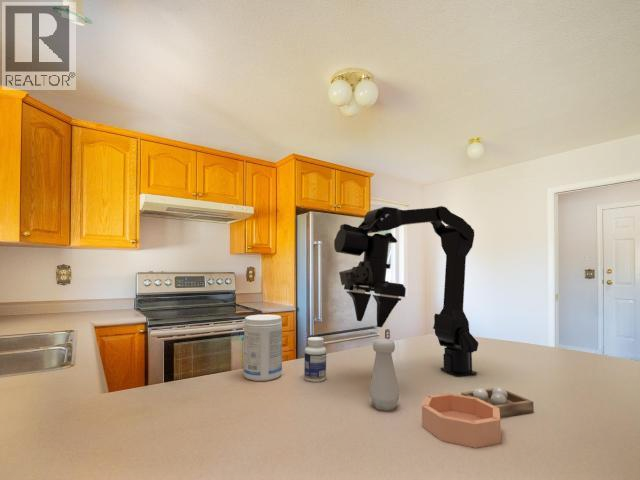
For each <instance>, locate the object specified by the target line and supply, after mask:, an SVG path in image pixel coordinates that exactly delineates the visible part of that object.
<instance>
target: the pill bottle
mask: <svg viewBox="0 0 640 480" xmlns="http://www.w3.org/2000/svg"><path fill="white" fill-rule="evenodd" d="M324 343H325V340H324V337H321V336H320V337H319V336H311V337H308V338H307V345H308V346H306V347H305V349H304V368H303V369H304V373H303V374H304V379H305V381H308V382H312V383H313V382H314V383H317V382H318V383H319V382H323V381H325V380H326V379H327V348H326V347H325V346H323V345H324Z"/></svg>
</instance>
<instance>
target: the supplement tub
mask: <svg viewBox="0 0 640 480" xmlns="http://www.w3.org/2000/svg"><path fill="white" fill-rule="evenodd" d="M243 324H244V325H243V326H244V328H243V332H244V333H243V336H244V337H243V376H244V377H245V379H247V380H249V381H255V382H256V381H257V382H266V381H272V380H275V379H278V378H279V377H280V376H281V375H282V373H283V322H282V316H281V315H278V314H254V315H253V314H252V315H248V316H246V317H244V323H243Z"/></svg>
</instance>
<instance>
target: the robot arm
mask: <svg viewBox="0 0 640 480" xmlns="http://www.w3.org/2000/svg"><path fill="white" fill-rule="evenodd" d="M425 223H430V224H431V225H432V229H433V230H434V232H435V233H436V235H437V236H438V237H440V243H441V245H440V246H441V247H442V250H443V251H444V254H445V271H444V288H443V289H444V290H443V305H442V308H441V309H442V310H441V311H440V312H439V313H434V316H433V317H434V324H433V327H432V329H433V330H434V335H435V336H436V337H437V340H438V343H439V346H441V347H444V353H443V354H442V355H443V366H442V367H440V370H441V371H443V372H446V373H449V374H451V375H453V376H455V377H463V376H464V377H465V376H471V375H477V374H478V373H477V371H475V370H473V357H472V356H473V355H472V354H473V353H474V352H478V349H479V348H478V347H479V342H478V341H477V340H476V339H475V337H474V336H473V335H472V333H470V322H469V320H468V317H467V315H466V314H465V312H464V301H465V300H464V299H465V298H464V297H465V281H466V280H465V279H466V260H467V259H466V258H467V256H468V254H469V253H470V252H471V250H472V248H473V245H474V240H475V230H474V228H472V225H470V224H469V223H468V222H467V221H466V220H465V219H464V218H462V217H460V216H458V215H457V214H455V213H454V212H451V211H450V210H449V209H448V207H446V206H443V205H440V206H435V207H427V208H425V207H424V208H416V209H414V208H413V209H405V210H404V209H401V208H400V209H399V208H397V207H391V206H382V207H379V208H375V209H373V210H372V209H371V210H369V211H367V212H366V214H365V215H364V219H363V221H362V222H361V223H360V224H359V225H358V226H352V225H350V224H348V223H343V224H341V225H340V226H339V230H338V232H337V233H336V236H335V238H334V245H333V246H334V250H335V251H334V252H336V253H339V254H344V255H351V256H356V257H360V256H362V255H363V258H362V259H363V260H362V261H359V262H358V265H357V266H353V267H352V268H349V269H346V270H342V271H339V273H338V274H339V279H340V283H341V286H344V287H343V289H344V290H346V291H345V292H346V294H348V295H349V296H350V298H352V301H353V306H354V311H355V316H356V321H358V322H362V321H363V318H364V316H365V313H366V310H367V309H368V305H369V302H370V299H371V296H372V297H373V299H374V300H375V301H376V327H377V328H383V326H384V324H385V323H386V322H387V320H388V318H389V316H390V314H391V313H392V311H393V310H394V309H395V307H396V306H397V304H398V303H399V301H402V298H406V292H407V291H406V290H407V288H406V287H405V285H404V284H403V283H397V282H390V281H386V276H387V269H391V264H390V263H388V254H389V246H390V244H395V243H398V240H397V238H395V236H394V235H393V234H392V232H387V231H390V230H394V229H397V228H398V227H402V226H406V225H415V224H425ZM379 232H381V233H379ZM382 232H386V233H384V234H382ZM373 233H374V234H373ZM368 234H373V235H368ZM371 292H374V294H372V293H371Z"/></svg>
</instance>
